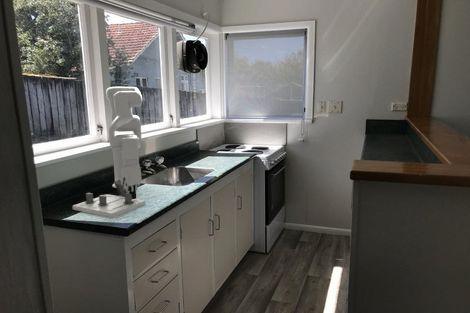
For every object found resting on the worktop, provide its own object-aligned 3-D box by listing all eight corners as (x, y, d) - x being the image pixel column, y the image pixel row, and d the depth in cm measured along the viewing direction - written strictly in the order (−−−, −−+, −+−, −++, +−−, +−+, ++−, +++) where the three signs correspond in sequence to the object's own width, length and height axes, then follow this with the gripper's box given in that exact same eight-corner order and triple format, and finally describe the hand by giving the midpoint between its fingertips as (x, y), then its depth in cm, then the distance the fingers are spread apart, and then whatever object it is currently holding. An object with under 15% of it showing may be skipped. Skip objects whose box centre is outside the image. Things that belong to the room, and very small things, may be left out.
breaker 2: (102, 203, 180) (101, 194, 179) (108, 204, 178) (107, 195, 177) (97, 204, 177) (97, 195, 176) (103, 206, 175) (103, 196, 174)
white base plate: (107, 197, 197) (107, 194, 196) (145, 204, 185) (145, 200, 185) (72, 209, 178) (72, 205, 177) (112, 217, 166) (112, 213, 165)
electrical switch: (130, 196, 199) (127, 180, 197) (120, 199, 196) (117, 182, 194) (125, 193, 207) (122, 177, 205) (115, 195, 204) (113, 179, 202)
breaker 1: (89, 200, 184) (88, 192, 183) (95, 201, 182) (94, 193, 181) (84, 202, 181) (83, 193, 180) (90, 203, 179) (89, 194, 178)
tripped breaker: (127, 201, 182) (127, 192, 181) (133, 202, 180) (133, 193, 180) (123, 203, 180) (122, 194, 179) (129, 204, 178) (128, 195, 177)
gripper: (135, 159, 187) (137, 193, 191) (113, 164, 174) (116, 201, 178) (147, 160, 184) (148, 195, 187) (125, 165, 171) (127, 203, 174)
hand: (132, 198), depth 182 cm, fingers closed
